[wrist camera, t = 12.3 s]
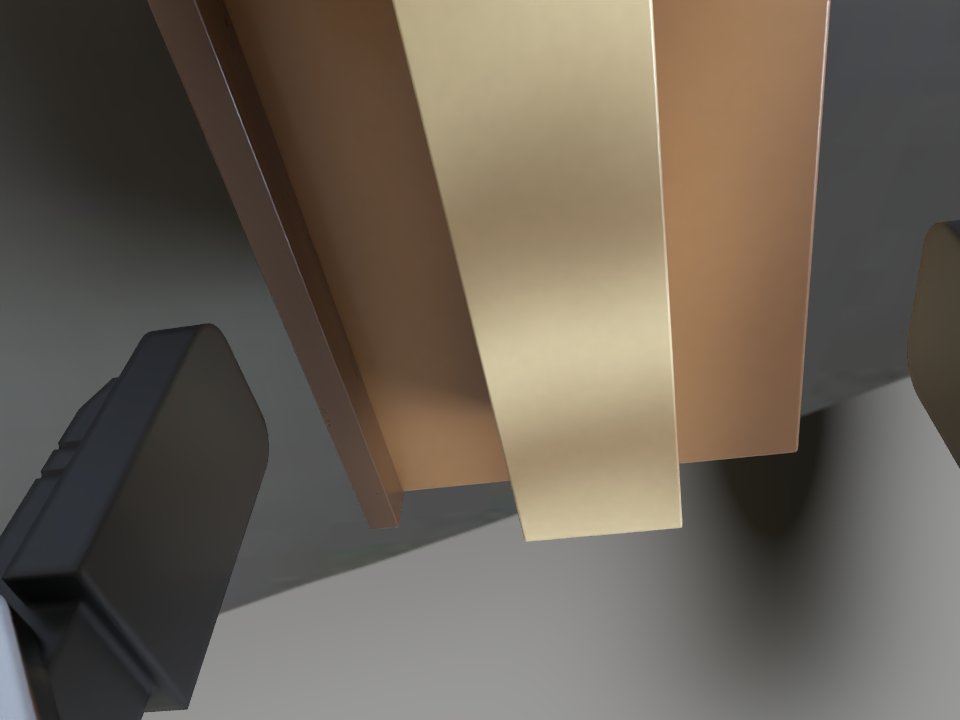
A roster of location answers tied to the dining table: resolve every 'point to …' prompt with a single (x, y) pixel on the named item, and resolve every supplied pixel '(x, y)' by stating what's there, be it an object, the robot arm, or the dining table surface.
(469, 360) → the shelf
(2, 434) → the dining table surface
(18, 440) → the dining table surface
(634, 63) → the beech stick
